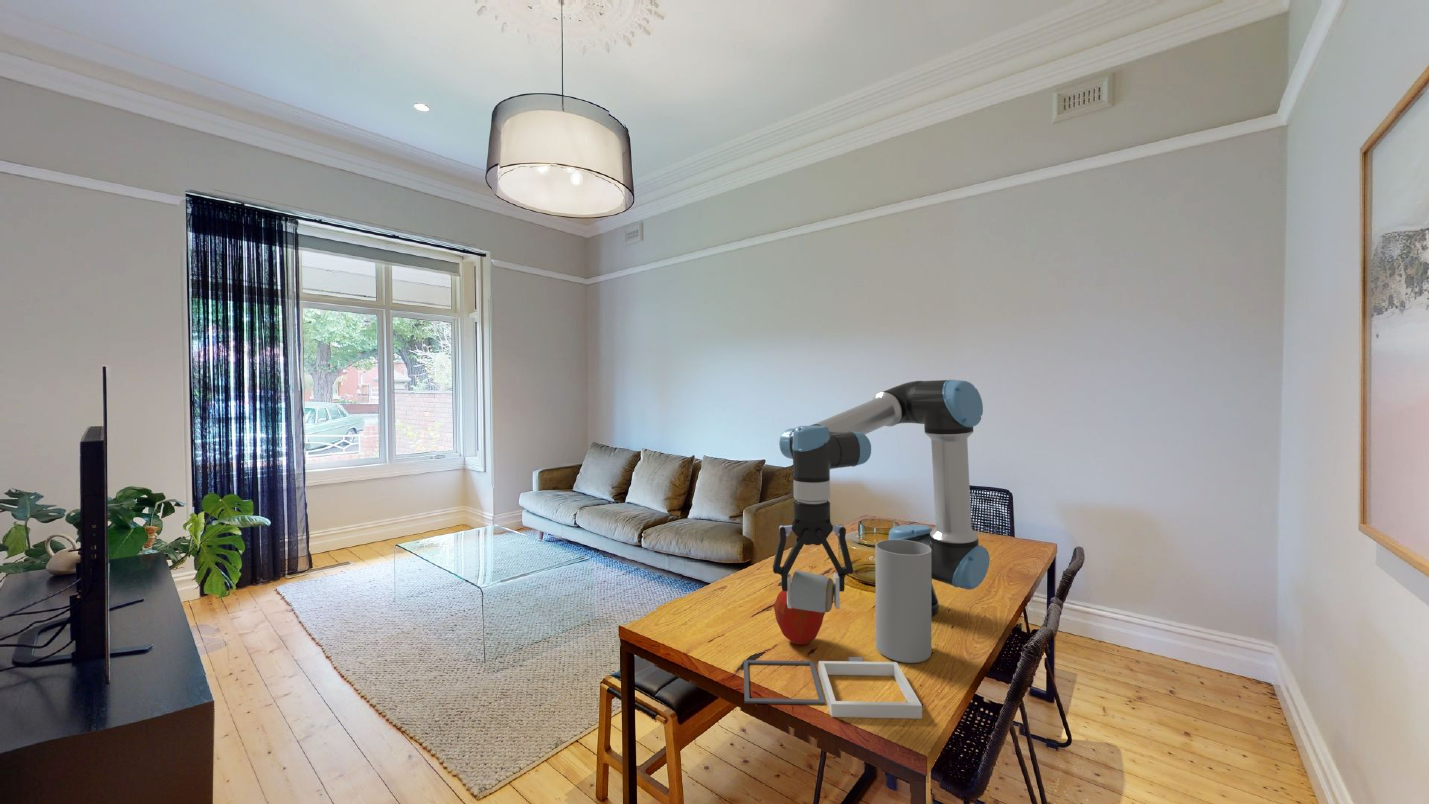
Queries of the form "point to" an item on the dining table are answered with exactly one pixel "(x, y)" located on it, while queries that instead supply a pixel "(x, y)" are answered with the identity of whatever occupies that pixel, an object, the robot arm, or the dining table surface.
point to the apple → (797, 621)
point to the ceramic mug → (811, 592)
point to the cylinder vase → (903, 600)
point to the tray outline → (782, 701)
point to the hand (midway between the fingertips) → (812, 605)
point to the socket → (869, 708)
